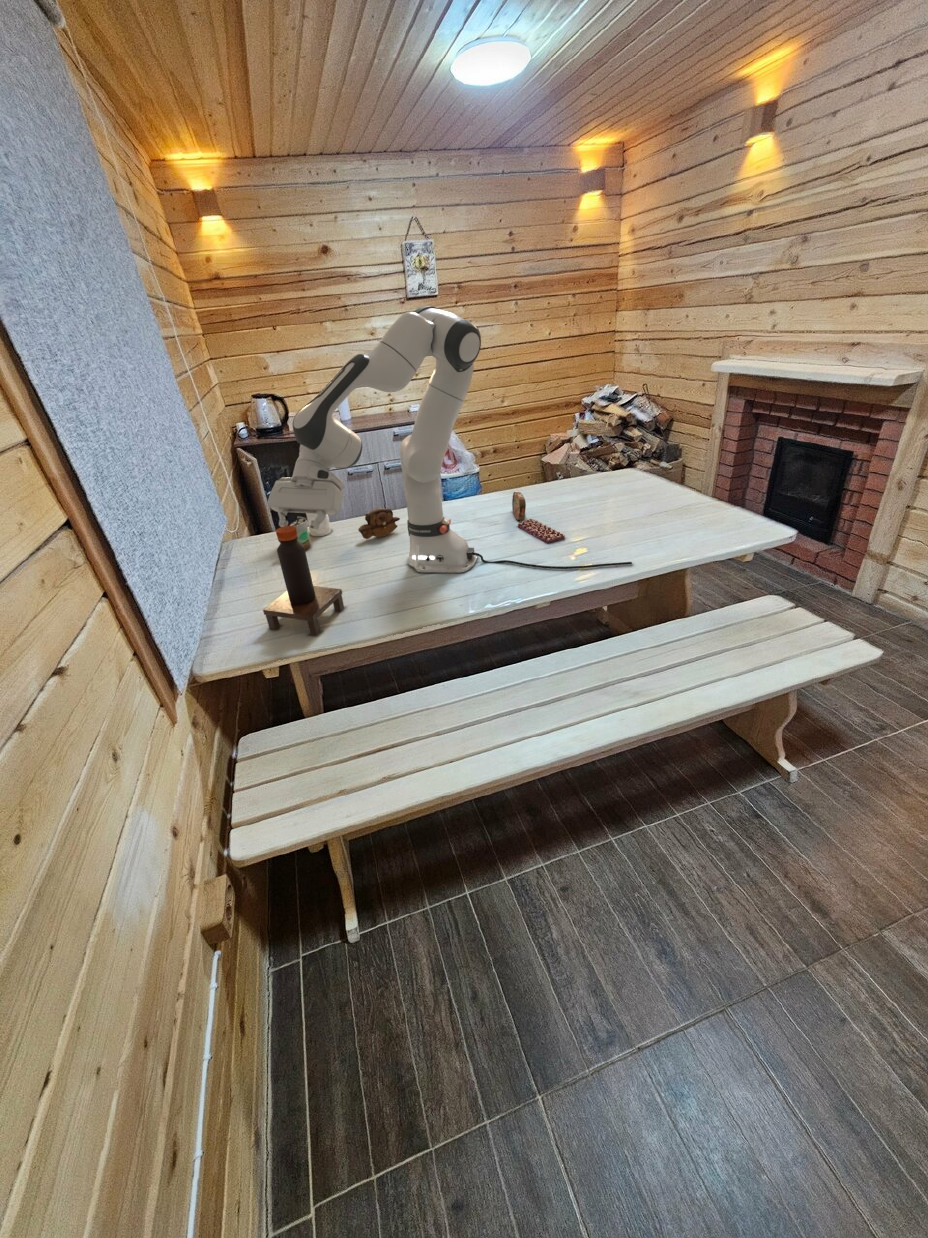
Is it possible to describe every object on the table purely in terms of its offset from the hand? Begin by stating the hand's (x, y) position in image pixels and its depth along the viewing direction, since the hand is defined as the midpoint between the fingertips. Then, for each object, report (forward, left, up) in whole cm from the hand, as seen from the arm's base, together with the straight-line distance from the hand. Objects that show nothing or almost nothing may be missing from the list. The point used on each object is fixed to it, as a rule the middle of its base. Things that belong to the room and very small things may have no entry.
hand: (298, 527), depth 134 cm
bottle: (+30, -52, -25) cm, 65 cm away
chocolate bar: (-51, -67, -25) cm, 88 cm away
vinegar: (0, +5, -19) cm, 19 cm away
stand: (0, +5, -25) cm, 25 cm away
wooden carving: (+5, -53, -25) cm, 59 cm away
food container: (+28, -37, -25) cm, 53 cm away
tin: (-40, -82, -25) cm, 95 cm away
